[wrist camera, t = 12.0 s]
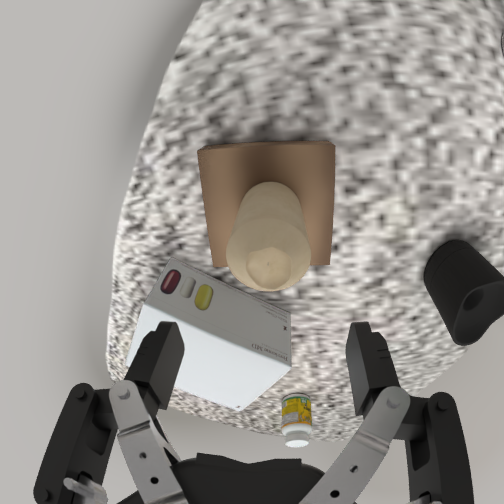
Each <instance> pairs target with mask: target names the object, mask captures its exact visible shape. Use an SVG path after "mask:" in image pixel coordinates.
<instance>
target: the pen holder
mask: <svg viewBox="0 0 504 504" xmlns="http://www.w3.org/2000/svg"><path fill="white" fill-rule="evenodd" d="M424 282H425V286H426V288H427V290H428V292H429V294H430V296H431V298H432V300H433V302H434V304H435V305H436V307H437V309H438V311H439V313H440V315H441V317H442V319H443V321H444V323H445V325H446V327H447V329H448V331H449V333H450V335H451V337H452V339H453V341H454V342H455V343H456V344H457V345H461V346H466V345H470V344H473V343H475V342H476V341H478V340H479V339H480V338H481V337H482V335H483V334H484V333H485V332H486V330H487V329H488V328H489V326H490V325H491V324H492V323H493V322H495V321H496V320H497V319H499V318H500V317H501V316H503V315H504V277H503V275H502V274H501V273H500V272H499V271H498V270H497V269H496V268H495V267H494V266H492V265H491V264H490V263H489V262H488V261H487V260H486V259H485V258H484V257H483V256H482V255H481V254H480V253H479V252H477V251H476V250H475V249H474V248H473V247H472V246H470V245H469V244H468V243H466V242H464V241H461V240H455V241H451V242H448V243H446V244H444V245H443V246H441V247H440V248H439V249H438V250H437V251H436V252H435V253H434V254H433V255H432V257H431V258H430V260H429V262H428V264H427V267H426V270H425V274H424Z"/></svg>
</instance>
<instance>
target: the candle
mask: <svg viewBox="0 0 504 504" xmlns="http://www.w3.org/2000/svg"><path fill="white" fill-rule="evenodd" d="M226 260H227V264H228V267H229V269H230V271H231V272H232V274H233V275H234V276H235V277H236V278H237V279H238V280H239V281H240V282H241V283H243V284H244V285H246V286H248V287H250V288H253V289H256V290H260V291H278V290H283V289H285V288H288V287H290V286H292V285H294V284H295V283H297V282H298V281H299V280H300V279H301V278H302V277H303V276H304V275H305V273H306V272H307V270H308V268H309V265H310V261H311V249H310V244H309V240H308V235H307V231H306V226H305V222H304V218H303V213H302V209H301V205H300V202H299V200H298V198H297V196H296V194H295V193H294V192H293V191H292V190H291V189H290V188H288V187H287V186H285V185H283V184H281V183H277V182H263V183H260V184H258V185H256V186H254V187H252V188H251V189H250V190H249V191H248V192H247V193H246V194H245V196H244V198H243V200H242V202H241V205H240V208H239V211H238V214H237V217H236V220H235V223H234V226H233V229H232V232H231V235H230V238H229V241H228V244H227V248H226Z"/></svg>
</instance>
